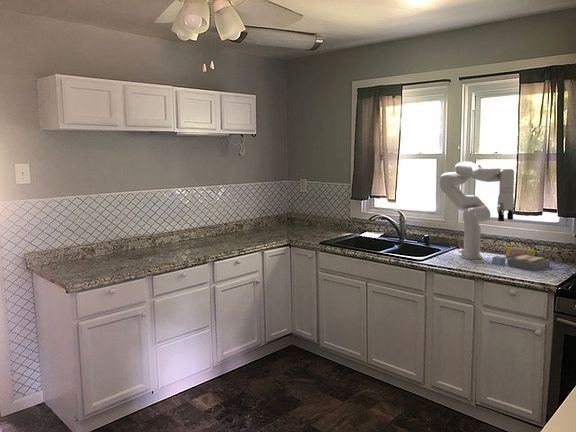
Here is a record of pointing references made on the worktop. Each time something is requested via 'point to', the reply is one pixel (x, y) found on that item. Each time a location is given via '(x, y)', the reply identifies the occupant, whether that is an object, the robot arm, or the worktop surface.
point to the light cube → (498, 260)
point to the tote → (528, 264)
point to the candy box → (518, 252)
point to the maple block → (529, 258)
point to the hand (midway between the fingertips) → (505, 220)
